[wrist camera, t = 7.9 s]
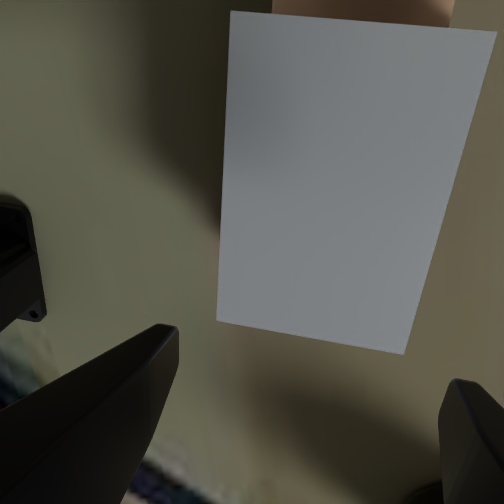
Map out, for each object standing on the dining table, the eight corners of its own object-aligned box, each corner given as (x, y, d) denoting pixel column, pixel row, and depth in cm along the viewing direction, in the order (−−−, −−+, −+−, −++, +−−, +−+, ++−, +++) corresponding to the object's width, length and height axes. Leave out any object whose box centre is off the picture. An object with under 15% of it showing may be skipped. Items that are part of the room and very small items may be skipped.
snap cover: (237, 276, 17) (216, 320, 15) (254, 14, 13) (230, 11, 11) (395, 303, 17) (403, 354, 14) (466, 31, 12) (497, 31, 10)
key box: (261, 265, 20) (227, 353, 15) (298, -126, 14) (263, -228, 8) (372, 283, 20) (381, 382, 14) (465, -120, 13) (546, -226, 8)
